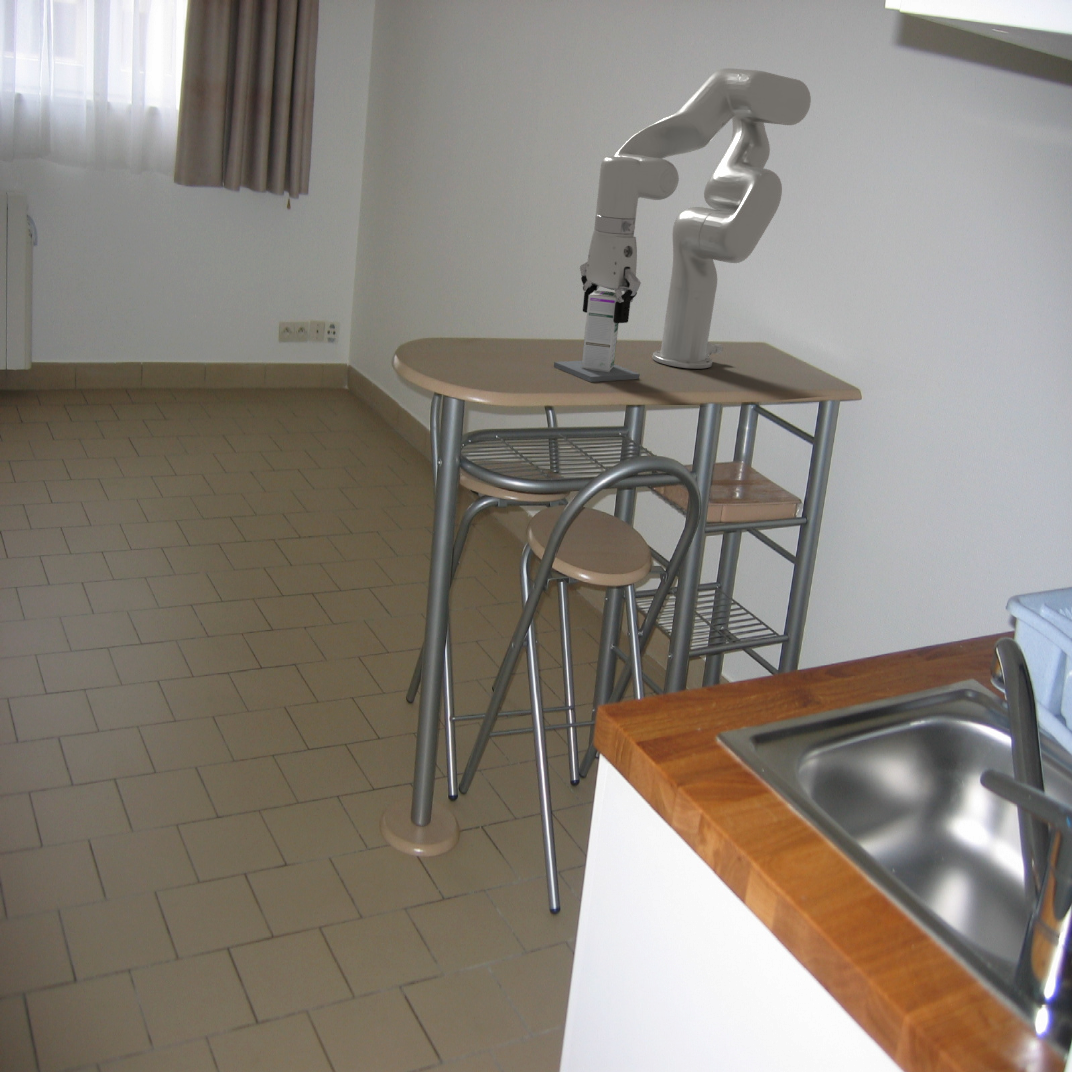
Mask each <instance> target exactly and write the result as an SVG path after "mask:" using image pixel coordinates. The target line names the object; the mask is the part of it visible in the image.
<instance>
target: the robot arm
mask: <svg viewBox="0 0 1072 1072" xmlns="http://www.w3.org/2000/svg"><path fill="white" fill-rule="evenodd" d="M809 89H810V88H808V85H806V83H804V81H802V80H800V79H797V78H792V77H787V76H783V75H779V74H775V73H771V72H767V71H764V70H763V71H762V70H756V69H745V68H744V69H743V68H722V69H719V70H716V71H715V72H713V74H711V75H710V76H709V77H708V78H707V79H706V80H705V81H704V82H703V84H701V86H700V87H699V88H698V89H697V90H696V92H695V93H693V95H691V96H690V97H689V99H688V100H687V101H686V102H685V103H684V104H683V105H682V107H680V108H679V110H678V111H676V112H675V113H673V114H672V115H668V116H666V117H664V118H662V119H660V120H658V121H657V122H655V123H653V124H650V125H648V126H647V127H645V128H644V127H643V129H641V130H640V131H638V132H636V133H635V134H633V135H632V136H631V137H630V138H629V139H628V140H627V141H626V142H625V143H624V144H623V145H622V146H621V147H620V148H619V149H618V150H617V152H616V153H615V154H614V155H612V156H611V155H609V156H607V157H604V158H603V159H602V160H601V163H600V167H599V168H600V169H599V179H598V188H597V189H598V190H597V199H596V211H595V220H594V229H593V233H592V236H591V241H590V246H589V250H588V255H587V262H585V263H583V264H580V266H579V269H580V270H579V271H580V275H581V278H580V280H581V283H582V285H583V286H582V290H583V292H584V293H583V304H582V312H583V313H586V314H587V308H588V298H589V295H590V294H591V293H593V291H594V290H595V291H598V289H599V288H601V287H602V288H604V289H608V290H612V291H614V292H615V293H616V296H617V299H618V302H616V303H615V310H614V319H613V321H614V323H619V324H627V323H628V322H629V317H630V309H631V303H632V302H633V301H634V298H636V296H637V294H638V291H639V289H640V286H641V284H642V283H641V280H640V279H639V278H638V276H637V266H638V265H637V263H638V262H637V261H638V260H637V259H638V248H637V244H638V243H637V237H636V236H635V230H636V218H637V211H638V201H639V199H640V198H641V199H647V200H653V201H661V200H665V199H667V198H669V197H670V196H672V195H673V194H674V192H676V190H677V187H678V186H679V181H680V178H679V171H678V170H677V168H676V166H675V165H674V164H673V163H672V162H670V160H667V159H665V158H669V157H672V156H676V155H683V154H688V153H691V152H695V151H698V150H700V149H701V150H702V149H704V148H705V147H707V146H708V145H709V144H710V143H711V141H712V140H714V138H716V136H717V135H718V133H719V132H720V131H721V130H722V129H723V128H724V127H725V126H727V124H728V123H729V121H730V120H731V121H732V135H731V140H730V142H729V144H728V146H727V148H726V150H725V151H724V154H723V155H722V156H721V158H720V160H719V161H718V163H717V165H716V167H715V168H714V170H713V171H712V173H711V175H710V176H709V178H708V180H707V182H706V184H705V188H704V192H703V197H704V201H705V203H706V204H707V205H708V206H709V207H710V208H708V207H703V206H701V207H700V206H695V207H694V206H693V207H689V208H688V207H687V208H686V209H684V210H682V211H681V212H680V213H679V214H678V215H677V216H676V218H675V220H674V222H673V227H672V233H671V234H672V255H673V256H672V268H671V269H672V270H671V277H670V285H669V290H668V296H667V297H668V298H667V304H666V310H665V311H666V312H665V319H664V326H663V331H662V339H661V340H662V341H661V345H660V347H661V348H660V350H655V351H654V352H652V357H651V358H652V359H653V360H654V361H655V362H657V363H659V364H663V365H666V366H670V367H677V368H680V369H681V368H683V369H695V370H696V369H697V370H698V369H702V370H703V369H707V368H711V367H712V366H713V360H712V359H711V358H710V355H712V354H722V353H723V350H724V347H723V345H722V344H721V343H718V344H717V343H714V344H712V342H709V338H710V337H709V336H710V331H711V324H712V319H713V317H712V316H713V311H714V305H715V299H716V294H717V293H716V292H717V287H718V273H717V272H718V271H717V268H716V264H715V261H719V262H722V263H723V262H724V263H729V264H739V263H742V262H744V261H745V260H747V258H749V256H751V254H752V253H753V251H754V250H755V249H756V247H757V245H758V244H759V242H760V240H761V238H762V237H763V235H764V234H765V232H766V230H767V228H768V226H769V225H770V223H771V221H772V220H773V218H774V216H776V215H775V214H776V213H777V211H778V209H779V206H780V203H781V199H782V196H783V185H782V184H783V183H782V181H781V179H780V177H779V175H778V174H777V173H775V172H774V171H772V170H770V169H767V168H765V166H766V164H767V162H768V160H769V157H770V154H771V153H770V151H771V147H770V141H769V138H768V135H767V130H766V127H765V126H766V125H765V124H772V125H783V126H794V125H797V124H799V123H800V122H802V120H804V119H805V118H806V116H807V115H808V113H809V111H810V107H811V102H812V101H811V100H812V99H811V92H810V90H809ZM714 260H715V261H714Z"/></svg>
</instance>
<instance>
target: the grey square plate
mask: <svg viewBox="0 0 1072 1072" xmlns="http://www.w3.org/2000/svg"><path fill="white" fill-rule="evenodd" d="M553 367H554V368H555V369H558V370H560V371H562V372H565V373H568V374H569V375H573V376H575V377H577V378H580V379H582V380H584V381H587V382H590V383H595V382H611V381H612V382H613V381H626V380H640V373H639V372H636V371H633V370H631V369H629V368H626V367H623V366H620V365H618V364H615V363H614V366H613V368H612V369H611V370H610V372H604V371H596V370H590V369H585V368H582V359H581V360H566V361H565V360H564V361H562V360H561V361H554V363H553Z"/></svg>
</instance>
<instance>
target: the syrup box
mask: <svg viewBox="0 0 1072 1072" xmlns="http://www.w3.org/2000/svg"><path fill="white" fill-rule="evenodd" d="M616 302H618V299H617V296H616V293H615V291H607V290H596V291H595V290H594V291H593V293H591V294H590V295H589V298H588V308H587V313H586V318H585V319H586V320H585V328H584V329H585V330H584V336H583V337H584V339H583V348H582V357H581V360H582V368H585V369H590V370H596V371H604V372H610V370H611V369H612V368H613V366H614V364H615V358H616V349H617V341H618V333H619V331H618V330H619V324H620V323H614V321H613V319H614V310H615V303H616Z"/></svg>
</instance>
